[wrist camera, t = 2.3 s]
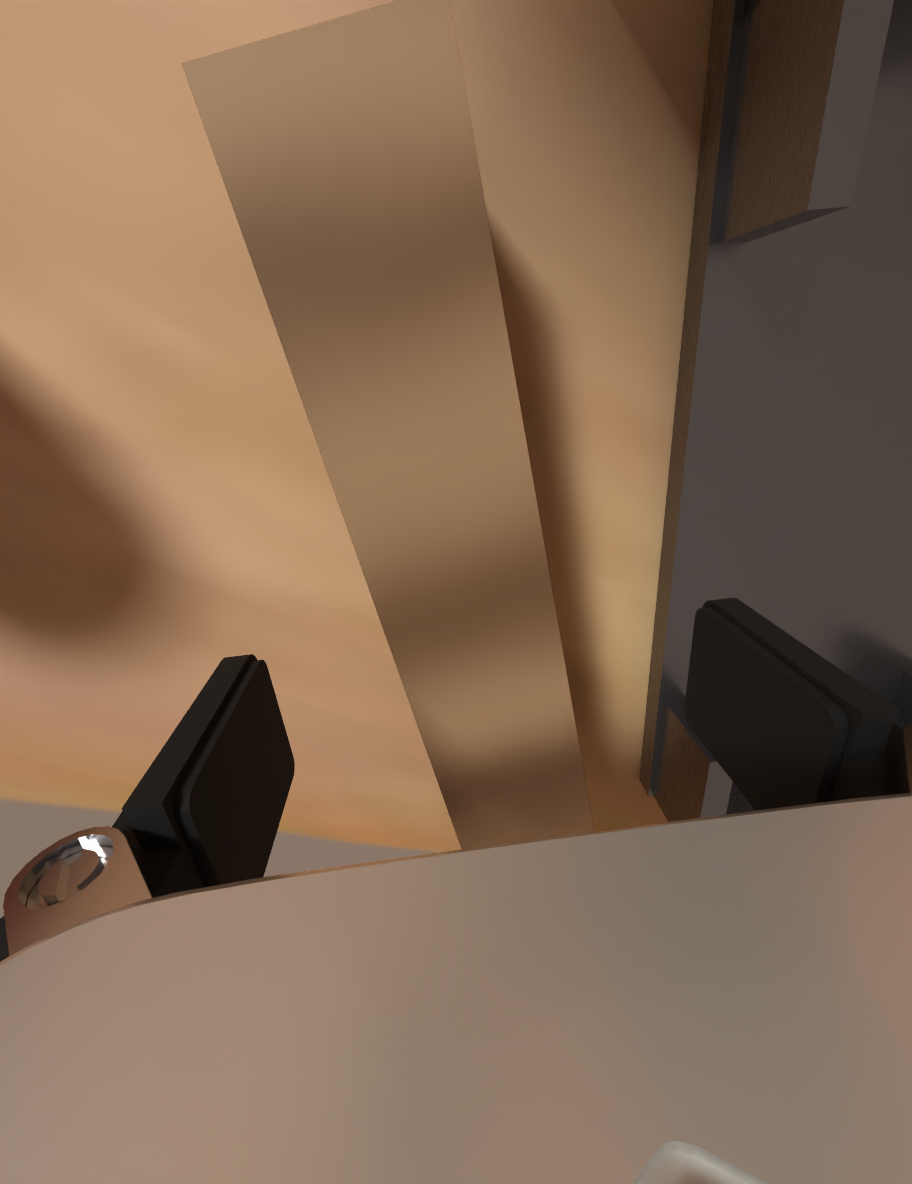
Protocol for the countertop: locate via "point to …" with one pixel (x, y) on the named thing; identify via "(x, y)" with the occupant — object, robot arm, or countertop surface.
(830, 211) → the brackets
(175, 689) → the countertop surface
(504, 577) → the rail
